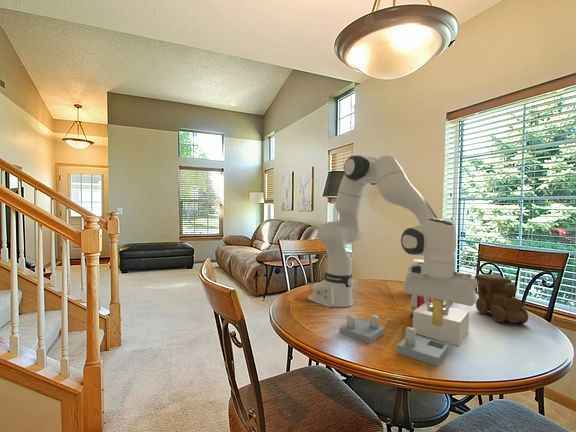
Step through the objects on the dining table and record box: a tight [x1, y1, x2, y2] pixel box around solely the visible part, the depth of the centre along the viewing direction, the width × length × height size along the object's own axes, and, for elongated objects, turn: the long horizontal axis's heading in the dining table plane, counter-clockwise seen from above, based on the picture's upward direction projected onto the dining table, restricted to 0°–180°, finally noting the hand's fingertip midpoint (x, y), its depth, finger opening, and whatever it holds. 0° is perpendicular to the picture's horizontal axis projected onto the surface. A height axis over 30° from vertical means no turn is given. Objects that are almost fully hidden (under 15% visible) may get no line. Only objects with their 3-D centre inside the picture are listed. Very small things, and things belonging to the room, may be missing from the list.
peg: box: [432, 298, 444, 326], centre depth 94 cm, size 3×3×8 cm
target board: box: [396, 326, 450, 367], centre depth 94 cm, size 12×12×8 cm
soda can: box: [410, 294, 433, 316], centre depth 126 cm, size 8×8×15 cm
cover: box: [412, 301, 470, 347], centre depth 110 cm, size 15×15×11 cm
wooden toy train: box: [474, 273, 529, 324], centre depth 127 cm, size 20×11×17 cm, turn 0°
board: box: [338, 314, 386, 344], centre depth 108 cm, size 12×12×6 cm
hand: (437, 312), depth 94 cm, fingers closed on peg, 3 cm apart
